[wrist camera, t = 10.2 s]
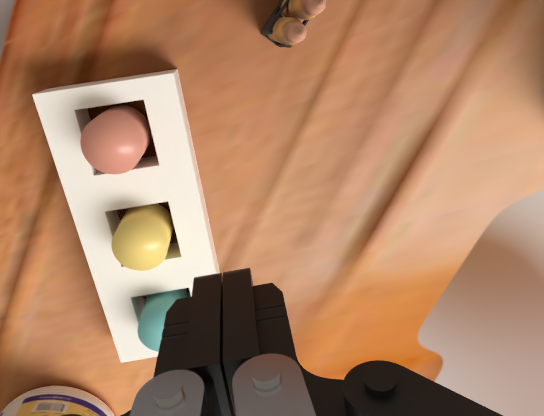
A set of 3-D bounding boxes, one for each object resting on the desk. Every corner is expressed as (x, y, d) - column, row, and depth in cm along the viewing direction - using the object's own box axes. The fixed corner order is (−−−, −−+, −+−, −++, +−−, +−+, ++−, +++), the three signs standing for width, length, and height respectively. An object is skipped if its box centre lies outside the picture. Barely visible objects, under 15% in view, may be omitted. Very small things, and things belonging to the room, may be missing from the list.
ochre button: (167, 197, 39) (161, 217, 35) (177, 242, 40) (173, 265, 36) (116, 205, 38) (104, 226, 34) (129, 250, 40) (119, 274, 36)
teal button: (186, 279, 42) (183, 306, 38) (196, 318, 43) (193, 347, 39) (140, 287, 41) (131, 315, 38) (151, 325, 43) (144, 356, 39)
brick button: (144, 101, 35) (134, 111, 32) (156, 153, 37) (148, 169, 33) (89, 109, 35) (72, 120, 31) (104, 162, 37) (90, 178, 33)
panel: (177, 68, 36) (173, 72, 33) (230, 323, 45) (230, 343, 42) (47, 88, 35) (32, 94, 33) (127, 341, 44) (120, 362, 42)
